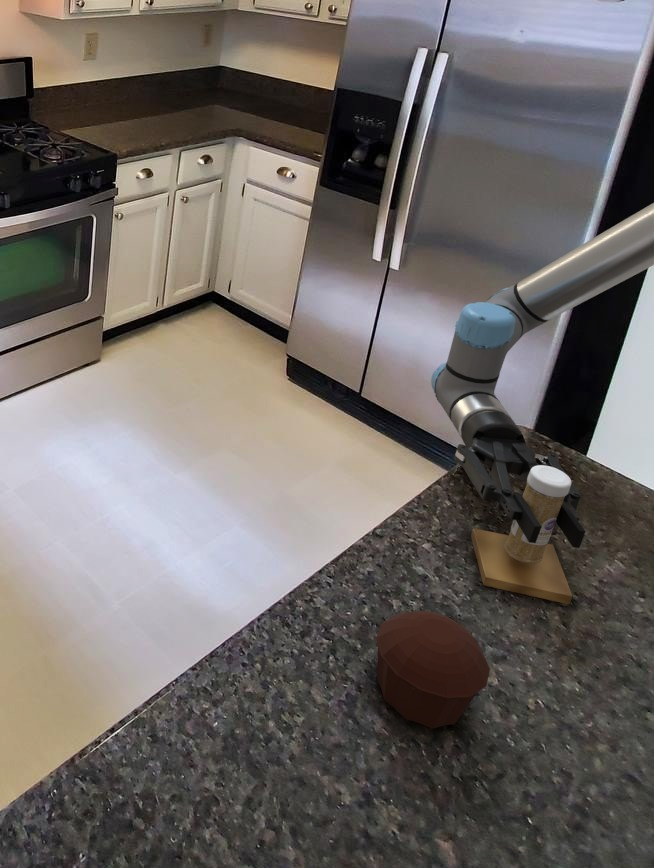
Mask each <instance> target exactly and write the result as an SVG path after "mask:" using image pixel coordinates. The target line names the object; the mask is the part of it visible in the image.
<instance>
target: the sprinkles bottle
mask: <svg viewBox="0 0 654 868" xmlns="http://www.w3.org/2000/svg"><path fill="white" fill-rule="evenodd" d="M565 473H566V472H565ZM565 473H564V472H562V471H560V470H558V469H556V468H553V467H550V466H545V465H538V464H537V466H534V467H532V468H531V470H530V472H529V475H528V478H527V483H526V486H525V489H524V491H523V494H522V497H523V499H524V500H525V502H526V503H527V505H528V506H529V508H530V509H531V511H532V513H533V514H534V516H535V517H536V519H537V520H538V522H539V524H540V525H541V530H540V533H539V535H538V538H537V541H536V543H529V541H528V540H527V538H526V536H525V535H524V533H523V532H522V530H521V528H520V527H519V525H518V523H517V522H516V520H512V523H511V526H510V532H509V533H508V535H509V537H508V539H507V541H506V542H505V544H504V548H505V550H506V552H507V553H508V554H509V555H510V556H511V557H513V558H514V559H516V560H518V561H521V562H523V563H527V564H536V563H539V562H541V560H542V558H543V553H544V550H545V547H546V545H547V543H548V544H549V542H550V538H551V535H552V533H553V531H554V528H555V525H556V524H557V523H556V519H557V516H558V514H559V511H560V508H561V505H562V502H563V500H564V498H565V496H566V495H567V494H568V492H569V489H570V487H571V481H572V480H571V477H570V476H569V475H568V474H567V473H566V474H567V475H566V474H565Z"/></svg>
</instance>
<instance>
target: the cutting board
mask: <svg viewBox="0 0 654 868" xmlns="http://www.w3.org/2000/svg"><path fill="white" fill-rule="evenodd" d="M508 537H509V534H503V533H499V532H494V531H489V530H483V529H479V528H475V527H474V528H473V529H472V530H471V534H470V538H471V539H470V540H471V541H472V542H471V543H472V546H473V550H474V554H475V559H476V562H477V566H478V571H479V574H480V578H481V582H482V586H485V587H490V588H494V589H497V590H503V591H507V592H512V593H516V594H520V595H525V596H530V597H534V598H539V599H542V600H547V601H552V602H556V603H561V604H564V605H566V604H567V605H570V603H571V601H572V599H573V593H572V590H571V588H570V586H569V583H568V580H567V577H566V575H565V572H564V570H563V567H562V565H561V562H560V559H559V557H558V554H557V551H556V549H555V546H554V544H552V543H549V542H548V543H547V545H546V547H545V550H544V553H543V558H542V560H541V562H539V563H536V564H527V563H523V562H521V561H518V560H516V559H514V558H513V557H511V556H510V555H509V554H508V553H507V552H506V550H505V548H504V544H505V542H506V541H507V539H508Z"/></svg>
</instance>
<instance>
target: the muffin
mask: <svg viewBox="0 0 654 868" xmlns="http://www.w3.org/2000/svg"><path fill="white" fill-rule="evenodd" d="M375 640H376V643H377V661H376V662H377V663H376V665H377V666H376V681H377V683H378V685H379V687H380V689H381V694H382V697H383V701H385V702H386V703H387V704H388V705H389V706H391V707H392V708H393V709H395V710H396V711H397V712H398V713H399V715H401V716H402V718H403V719H405V720H407V721H411V722H415V723H418V724H420V725H422V726H425V727H427V728H430V729H436V728H439V727H443V726H451V725H452V726H454V725H456V723H457V722H458V720H459V719H460V718H461V716H462V715H463V713H464V712H465V711H466V709H467V708H468V706H469V705H470V703H472V700H473V699H474V698H475V696H476V694H477V693H478V692H480V691H482V690H484V689H485V688H486V687H487V686H488V681H489V675H490V671H491V668H490V666H489V664H488V661H487V658H486V657H485V654H484V652H483V650H482V648H481V646H480V644H479V642H478V640H477V639H476V638H475V636H474V635H472V634H471V632H470V631H468V629H466V628H465V626H464V625H463V624H461V623H459V622H458V621H456V620H454V619H452V618H450V617H449V616H448V615H446V614H443V613H437V612H435V611H434V612H433V611H429V610H415V611H413V610H412V611H406V612H402V613H399V614H394V615H393V616H392V617H390V618H388V619H386V620H384V621H383V622H381V624H380V626H379V629H378V632H377V635H376V637H375Z"/></svg>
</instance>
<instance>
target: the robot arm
mask: <svg viewBox="0 0 654 868" xmlns="http://www.w3.org/2000/svg"><path fill="white" fill-rule="evenodd" d="M653 266H654V202H653V203H651V204H649V205H647V206H646V207H644V208H642V209H640V210H639V211H637V212H636V213H634V214H632V215H630V216H628V217H627V218H625V219H623V220H622V221H620V222H619V223H617V224H615V225H614V226H612V227H610V228H608V229H606V230H605V231H603V232H602V233H600V234H598V235H596V236H594V237H593V238H591V239H590V240H588V241H586V242H584V243H583V244H581V245H579V246H577V247H576V248H574V249H572V250H571V251H569V252H567V253H566V254H564V255H562V256H561V257H559V258H557V259H555V260H554V261H552V262H550V263H548V264H547V265H545V266H543V267H541V268H540V269H538V270H536V271H535V272H533V273H532V274H530V275H528V276H526V277H525V278H523V279H521V280H519V281H518V282H517V283H515V284H513V285H511V286H509V287H506V288H503V289H500V290H499V291H497V292H495V293H493V294H492V295H490V296H489V297H488V298H487V300H486V301H485V302H483V301H477V302H474V303H467V304H466V305H464V307H462V309H461V312H460V314H459V316H458V319H457V321H456V323H455V324H454V327H455V328H454V333H453V338H452V340H451V341H452V342H451V345H450V349H449V352H448V356H447V359H446V362H444V363H442V364H440V365H439V366H438V367H437V368H436V369H435V370H434V371H433V373H432V375H431V378H430V379H431V380H430V383H431V384H430V385H431V388H432V390H433V393H434V395H435V398H436V400H437V402H438V403H439V404H440V406H441V408H442V410H444V412H445V414H446V415H447V417H448V419H449V420H450V422H451V423H452V425H453V426H454V428H455V430H456V432H457V433H458V435H459V436H460V438H461V441H462V442H463V444H462V443H461V444H458V445H457V447H456V451H455V454H454V457H453V461H455V462H456V463H457V464H458V465H460V466H461V467H462V468H463V470H464V471H465V472H464V473H466V475H467V477H468V479H469V480H470V482H471V483H472V485H473V487H474V488H475V491H476V492H477V493H478V495H479V496H480V498H481V500H482V501H484V502H486V503H491V502H492V501H493V502H496V505H495V508H496V509H497V510H498V511H501V512H505V514H506V515H507V517H508V518H509V519H510V520H512V521H513V520H516V522H517V523H518V525H519V527H520V528H521V530H522V532H523V533H524V535H525V536H526V538H527V540H528V541H529V543H536V541H537V538H538V535H539V533H540V530H541V525H540V524H539V522H538V520H537V519H536V517H535V516H534V514H533V513H532V511H531V509H530V508H529V506H528V505H527V503H526V502H525V500H524V499H523V497H522V496H523V494H521V492H514V493H513V488H512V483H511V480H510V476H509V473H510V474H513V475H514V476H515V477H517V479H518V480H519V481H520V482H525V483H526V484H527V478H528V475H529V472H530V470H531V468H532V467H534V466H538V465H545V466H550V467H553V468H556V469H558V470H560V471H562V472H564V473H565V474H566V475H568V474H567V473H566V471H565V470H564V469H563V467H562V466H561V465H560V463H559V455H558V454H556V453H554V452H548V453H547V455H542V454H538V453H536V452H535V451H536V450H535V449H533V448H532V447H530V446H529V445H527V443H526V440H525V437H524V433H523V432H522V431H521V429H520V428H519V426H518V425H517V423H515V421H514V419H513V418H512V416H511V415H510V414H509V412H508V411H507V410H506V409H505V407H504V405H503V404H502V403H501V402H500V400H499V399H498V397H497V396H496V394H495V390H496V386H497V384H498V380H499V378H500V374H501V371H502V368H503V365H504V361H505V359H506V356H507V354H508V352H509V351H510V350H512V348H513V347H514V346H515V345H516V344H517V343H518V342H519V341H520V339H521V338H522V337H523V336H524V335H525V334H527V333H529V332H530V331H533V330H534V329H537V328H538V327H540V326H542V325H543V324H545V323H547V322H548V321H551V320H552V319H553V318H555V317H558V316H560V315H561V314H563V313H565V312H567V311H568V310H571V309H573V308H574V307H577V306H578V305H581V304H582V303H584V302H586V301H588V300H590V299H592V298H594V297H596V296H597V295H599V294H602V293H603V292H605V291H607V290H609V289H612V288H613V287H614V286H617V285H619V284H620V283H622V282H625V281H626V280H628V279H630V278H632V277H633V276H635V275H638V274H640V273H641V272H644V271H645V270H647V269H649V268H652V267H653ZM484 465H485V466H486V468H487V469H486V468H485V466H484ZM487 470H488V471H487ZM581 498H582V494H581V493H580V491H579V490H578V488H577V487H576V485H575V484H574V482H573V481H572V480H571V487H570V489H569V492H568V494H567V495H566V496H565V498H564V500H563V502H562V505H561V508H560V511H559V514H558V516H557V519H556V523H555V524H556V525H557V527H558V528H559V529H560V531H561V533H562V534H563V535H564V537H565V539H567V541H568V543H569V544H570V545H571V547H572V548H576V549H579V548H580V547H581V544H582V542H583V540H584V537H585V535H586V533H587V531H586V529H585V528H584V526H583V525H582V524H581V523H580V514H579V513H578V512H577V511H576V510H577V508H578V506H579V503H580V500H581Z"/></svg>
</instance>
